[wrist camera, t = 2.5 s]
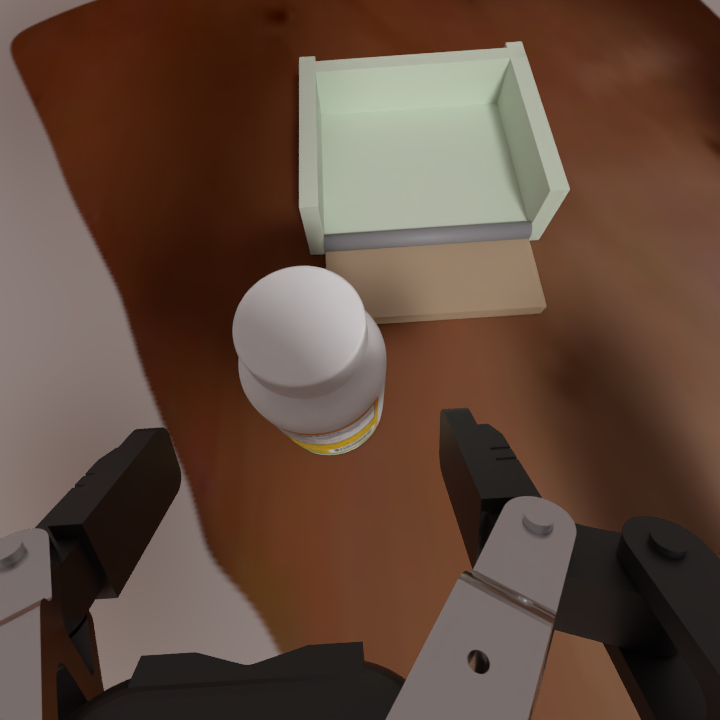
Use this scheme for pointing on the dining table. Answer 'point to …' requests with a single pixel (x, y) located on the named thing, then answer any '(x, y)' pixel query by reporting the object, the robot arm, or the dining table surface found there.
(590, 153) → the dining table surface
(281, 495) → the dining table surface
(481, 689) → the robot arm
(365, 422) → the supplement bottle
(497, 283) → the tray
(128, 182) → the dining table surface
